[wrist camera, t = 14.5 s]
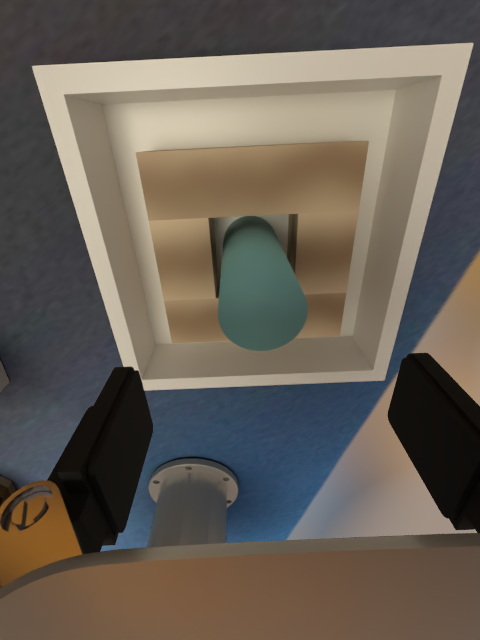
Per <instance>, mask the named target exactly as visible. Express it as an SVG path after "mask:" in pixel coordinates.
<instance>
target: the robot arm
mask: <svg viewBox="0 0 480 640" xmlns="http://www.w3.org/2000/svg"><path fill="white" fill-rule="evenodd" d="M388 420H389V422H390V424H391V426H392V428H393V429H394V431H395V433H396V435H397V436H398V438H399V440H400V442H401V443H402V445H403V447H404V449H405V450H406V452H407V454H408V456H409V457H410V459H411V461H412V463H413V464H414V466H415V468H416V470H417V471H418V473H419V475H420V477H421V478H422V480H423V482H424V483H425V485H426V487H427V489H428V490H429V492H430V494H431V496H432V498H433V499H434V501H435V503H436V505H437V506H438V508H439V510H440V511H441V513H442V514H443V516H444V517H446V518H449V519H450V521H451V523H452V524H453V526H454V528H455V529H456V530H469V529H475V530H476V531H477V533H466V534H432V535H404V536H379V537H354V538H333V539H332V538H331V539H308V540H284V541H262V542H241V543H226V526H227V507H229V506H230V505H231V504H232V503H233V502H234V501H235V500H236V498H237V495H238V481H237V479H236V477H235V475H234V474H233V473H232V472H231V471H230V470H229V469H228V468H226V467H224V466H223V465H221V464H219V463H216V462H213V461H210V460H205V459H197V458H186V459H178V460H175V461H171V462H168V463H166V464H164V465H162V466H161V467H159V468H158V469H157V470H156V471H155V472H154V473H153V474H152V476H151V478H150V483H149V493H150V496H151V497H152V499H153V500H154V501H155V502H156V508H155V513H154V517H153V522H152V526H151V531H150V536H149V540H148V545H147V548H134V549H120V550H111V551H103V552H100V550H101V547H102V546H103V545H115V543H116V540H117V537H118V533H122V532H123V531H124V529H125V527H126V524H127V520H128V517H129V513H130V510H131V506H132V503H133V499H134V496H135V492H136V489H137V485H138V482H139V478H140V475H141V471H142V468H143V464H144V461H145V457H146V454H147V450H148V447H149V443H150V440H151V436H152V433H153V423H152V419H151V415H150V411H149V407H148V403H147V400H146V396H145V392H144V388H143V384H142V380H141V377H140V373H139V371H138V370H134V368H133V367H116V368H114V370H113V371H112V373H111V375H110V377H109V379H108V380H107V382H106V384H105V386H104V388H103V390H102V391H101V393H100V395H99V397H98V399H97V401H96V402H95V404H94V406H91V407H90V408H88V410H87V411H86V413H85V414H84V416H83V418H82V420H81V421H80V423H79V425H78V427H77V429H76V430H75V432H74V434H73V436H72V437H71V439H70V441H69V443H68V444H67V446H66V448H65V450H64V452H63V453H62V455H61V457H60V459H59V460H58V462H57V464H56V466H55V468H54V469H53V471H52V473H51V475H50V476H49V478H48V480H47V481H44V480H41V481H37V482H32V483H30V484H28V485H26V486H24V487H22V488H20V489H19V490H17V491H16V492H14V493H13V494H12V495H11V496H10V497H9V498H8V499H7V500H6V501H4V503H3V504H2V505H1V507H0V640H480V406H479V405H478V404H477V403H476V402H475V401H474V400H473V399H472V398H471V397H470V396H469V395H468V394H467V393H466V392H465V391H464V390H463V389H462V388H461V387H460V386H459V385H458V383H456V381H455V380H453V378H452V377H451V376H450V375H449V374H448V373H447V372H446V371H445V370H444V369H443V368H442V367H441V366H440V365H439V364H438V363H437V362H436V361H435V360H434V359H433V358H432V357H431V355H429V354H428V353H412V354H408V355H407V357H406V358H404V359H403V360H402V362H401V366H400V370H399V373H398V377H397V381H396V384H395V388H394V392H393V396H392V399H391V403H390V407H389V410H388Z"/></svg>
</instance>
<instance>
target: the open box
mask: <svg viewBox="0 0 480 640" xmlns="http://www.w3.org/2000/svg"><path fill="white" fill-rule="evenodd" d="M473 44H474V43H461V44H442V45H423V46H404V47H385V48H366V49H347V50H327V51H308V52H289V53H270V54H251V55H232V56H213V57H194V58H175V59H156V60H137V61H118V62H98V63H79V64H60V65H41V66H32V68H33V72H34V75H35V78H36V81H37V85H38V88H39V91H40V95H41V98H42V101H43V104H44V108H45V111H46V114H47V117H48V121H49V124H50V127H51V131H52V134H53V137H54V140H55V144H56V147H57V150H58V153H59V157H60V160H61V163H62V167H63V170H64V173H65V176H66V180H67V183H68V186H69V190H70V193H71V196H72V199H73V203H74V206H75V209H76V212H77V216H78V219H79V222H80V226H81V229H82V232H83V235H84V239H85V242H86V245H87V249H88V252H89V255H90V258H91V262H92V265H93V268H94V271H95V275H96V278H97V281H98V285H99V288H100V291H101V294H102V298H103V301H104V304H105V308H106V311H107V314H108V317H109V321H110V324H111V327H112V330H113V334H114V337H115V340H116V344H117V347H118V350H119V353H120V357H121V360H122V363H123V366H124V367H133V368H134V370H138V371H139V373H140V377H141V380H142V384H143V388H144V390H168V389H191V388H215V387H239V386H263V385H287V384H311V383H335V382H359V381H383V380H385V377H386V373H387V369H388V366H389V362H390V358H391V354H392V350H393V347H394V343H395V339H396V335H397V331H398V328H399V324H400V320H401V316H402V313H403V309H404V305H405V301H406V297H407V294H408V290H409V286H410V282H411V278H412V275H413V271H414V267H415V263H416V260H417V256H418V252H419V248H420V244H421V241H422V237H423V233H424V229H425V225H426V222H427V218H428V214H429V210H430V207H431V203H432V199H433V195H434V191H435V188H436V184H437V180H438V176H439V173H440V169H441V165H442V161H443V157H444V154H445V150H446V146H447V142H448V138H449V135H450V131H451V127H452V123H453V120H454V116H455V112H456V108H457V104H458V101H459V97H460V93H461V89H462V85H463V82H464V78H465V74H466V70H467V67H468V63H469V59H470V55H471V51H472V48H473ZM334 141H369V145H368V152H367V159H366V165H365V172H364V178H363V185H362V192H361V198H360V205H359V212H358V218H357V225H356V232H355V238H354V245H353V252H352V258H351V265H350V272H349V278H348V285H347V292H346V298H345V305H344V312H343V318H342V325H341V332H340V336H333V337H309V338H294V339H293V340H292V341H290V342H289V343H287V344H286V345H284V346H281V347H279V348H276V349H273V350H267V351H254V350H248V349H245V348H242V347H240V346H238V345H236V344H235V343H233V342H232V341H217V342H194V343H172V341H171V335H170V330H169V325H168V320H167V314H166V309H165V304H164V299H163V294H162V288H161V283H160V278H159V273H158V267H157V262H156V257H155V252H154V247H153V241H152V236H151V231H150V226H149V220H148V215H147V210H146V205H145V199H144V194H143V189H142V184H141V179H140V173H139V168H138V163H137V158H136V152H143V151H152V150H172V149H193V148H213V147H233V146H253V145H273V144H294V143H314V142H334ZM241 217H244V216H238V217H216V218H213V222H214V234H215V245H216V257H217V269H218V278H221V266H222V254H223V241H224V235H225V232H226V230H227V229H228V227H229V226H230V224H231V223H232V222H234V221H235V220H237V219H238V218H241ZM258 217H261V218H263V219H265V220H266V221H267V222H268V223H269V224H270V225H271V226H272V227H273V229H274V231H275V233H276V235H277V238H278V240H279V242H280V244H281V246H282V248H283V250H284V252H285V255H286V257H287V245H288V219H289V214H280V215H259V216H258Z"/></svg>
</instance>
